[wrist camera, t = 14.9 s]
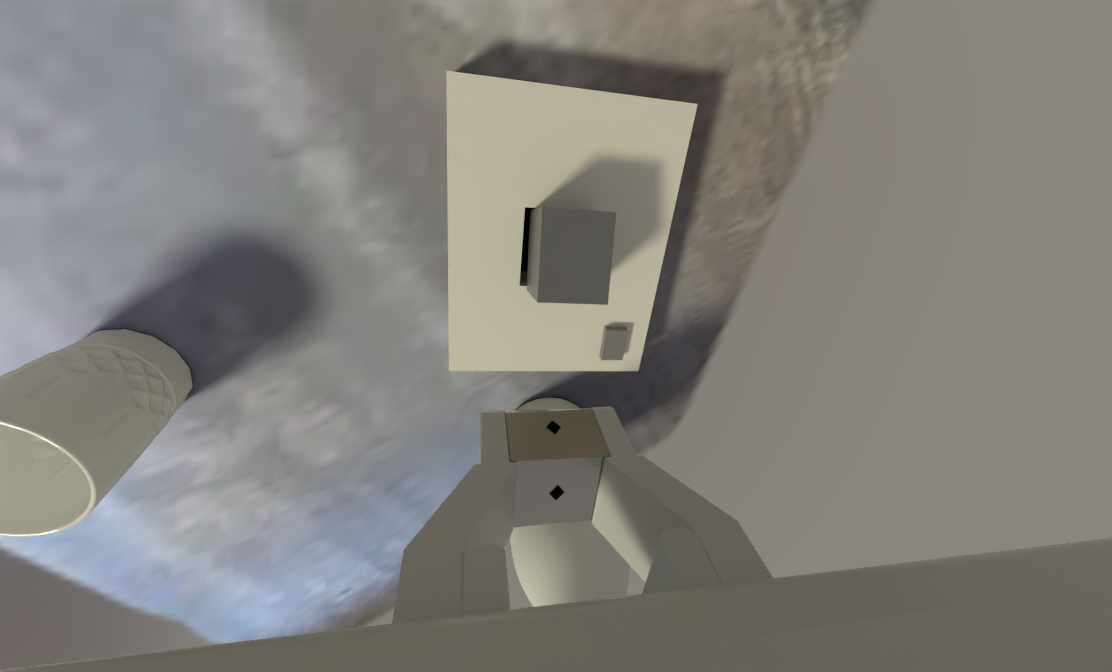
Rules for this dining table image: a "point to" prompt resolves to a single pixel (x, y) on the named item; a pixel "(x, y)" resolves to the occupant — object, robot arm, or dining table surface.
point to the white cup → (81, 425)
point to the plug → (570, 255)
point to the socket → (558, 182)
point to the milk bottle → (566, 553)
